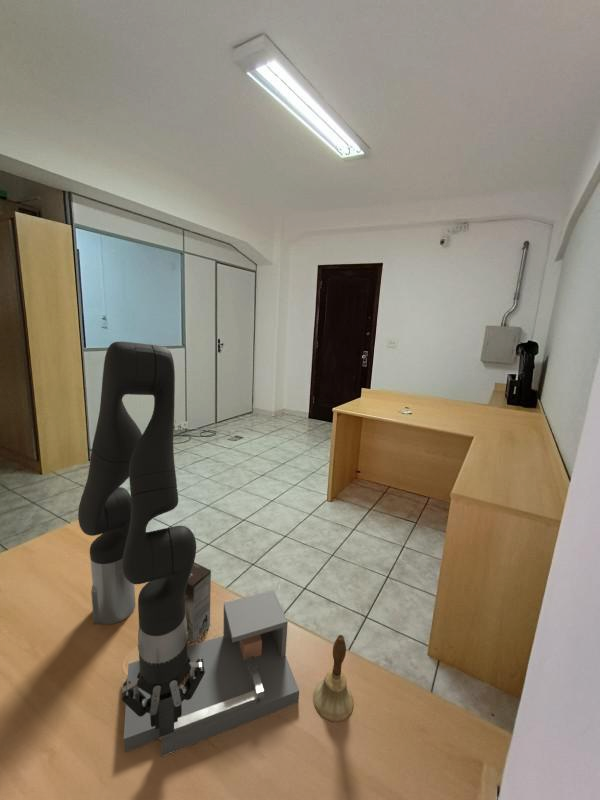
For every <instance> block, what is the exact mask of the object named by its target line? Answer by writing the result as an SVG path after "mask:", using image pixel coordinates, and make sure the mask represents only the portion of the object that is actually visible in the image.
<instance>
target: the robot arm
mask: <svg viewBox="0 0 600 800" xmlns="http://www.w3.org/2000/svg"><path fill="white" fill-rule="evenodd" d="M101 381H102V382H101V383H102V384H101V393H100V394H101V395H100V404H99V412H98V419H97V424H96V428H95V432H94V436H93V441H92V447H91V453H90V459H89V468H88V473H87V479H86V482H85V486H84V489H83V492H82V495H81V498H80V501H79V505H78V509H77V510H78V513H77V515H78V516H77V517H78V523H79V527H80V529H81V531H82V533H84V534H85V535H87V536H89V537H90V536H92V537H93V536H98V537H96V538H95V539H94V540H93V541H92V543H91V544H90V547H89V557H90V567H91V568H90V571H91V581H92V585H91V591H90V595H91V606H92V617H93V624H94V625H95V624H102V625H115V624H118V623H120V622H122V621H124V620H126V619H127V618H128V617H130V616H131V615H132V613H133V612H134V611H135V608H136V589H135V586H136V585H142V584H143V586H142V588H141V590H140V591H139V593H138V598H137V610H138V612H137V613H138V630H137V631H138V633H137V640H138V641H137V643H138V644H137V650H138V661H139V665H140V672H139V673H138V676H137V679H136V680H134V681H133V682H130V681H127V680H126V681H125V682H123V684H122V691H121V692H122V693H121V702H123V703H124V704H125V706H126V705H127V706H128V707H129V708H130V709H132V710H133V711H134V712H135V713H136V714H137V715H138V716H139V717H141V716H144V715H145V713H150V720H151V726H152V727H154V726H155V730H156V729H159V710H158V704H159V697H160V696H161V695H163V694H164V693H169V692H171V694H172V699H173V703H174V723H175V722H178V718H179V717H181V715H182V705H181V704H182V701H183V700H185V699H186V700H189V699H191V698H192V696H193V694H194V692H195V691H196V689H197V687H198V685H199V683H200V681H201V679H202V678H203V676H204V674H205V670H204V663H203V659H202V658H200V659H198V660H197V661H196V662H190V659H189V657H188V646H189V645H188V640H187V638H188V631H187V620H186V614H185V592H186V587H187V583H188V580H189V576H190V574H191V571H192V567H193V564H194V562H195V560H196V557H197V555H196V554H197V540H196V538H195V534H194V533H193V532H192V530H191V529H190V528H189V527H187V526H185V525H175V526H170V527H165V528H160V529H157V530H151V531H147V528H148V525H149V523H150V522H151V520H154V518H157V517H158V516H161V515H163V514H166V513H169V512H171V511H172V510H175V509H176V508H177V507H178V505H179V492H178V485H177V475H176V474H177V473H176V467H175V466H176V465H175V456H174V455H175V454H174V433H175V431H174V430H175V429H174V428H175V427H174V426H175V403H176V402H175V393H176V392H175V391H176V390H175V388H176V387H175V386H176V374H175V363H174V357H173V355H172V353H171V351H170V349H169V348H167V347H166V346H164V345H163V346H162V345H157V344H150V343H148V344H147V343H139V342H130V341H114V342H112V343H111V344H110V345H109V346H108V347H107V351H106V353H105V357H104V362H103V370H102V379H101ZM126 395H133V396H136V395H139V396H141V395H142V396H153V399H154V400H153V401H154V403H153V405H154V406H153V411H152V415H151V417H150V419H149V422H148V424H147V426H146V428H145V430H144V431H143V433H142V431H141V429H140V428H139V426H138V425H137V423H136V421H135V420H134V419H133V418H132V416H131V415H130V414H129V413H128V410H127V409H126V407H125V405H124V402H123V399H124V396H126ZM128 479H129V491H130V492H129V491H128V489H126V488H124V487H123V484H124V483H125V482H126V481H127V480H128ZM121 486H122V487H121ZM189 672H190V673H189ZM186 677H187V678H186ZM185 678H186V679H185ZM184 680H185V681H184ZM183 681H184V683H183ZM182 683H183V685H184V686H183V685H182ZM181 685H182V686H183V687H182V688H180V686H181ZM138 688H140V689H142V690H143V691H145V692H147V693H148V694H150V698H148V699H146V697H145V696H144V695H143V694H142V693H141V692H140V691H139V690H138Z"/></svg>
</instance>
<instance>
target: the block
mask: <svg viewBox="0 0 600 800" xmlns="http://www.w3.org/2000/svg"><path fill="white" fill-rule="evenodd" d="M240 649H241V652H242V656H243V660H247V657H250V656H254V657H256V656H259V655H261V652H262V639H261V636H260V634H259V635H256V636H253V637H249V638H246V639H243V640H240Z"/></svg>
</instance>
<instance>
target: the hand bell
mask: <svg viewBox="0 0 600 800" xmlns="http://www.w3.org/2000/svg"><path fill="white" fill-rule="evenodd" d="M346 653H347V644H346V642H345V637H344V634H343V635H342V634H338V635H337V638H336V640H335V641H334V643H333V647H332V659H333V667H332V669H330V670H328V671H327V672H326V673H325V676H324V679H322V680H321V681H319V682H318V684H317V685H316V686H315V689H314V691H313V705H314V707H315V709H316V711H317V712H318V714H320V716H322V717H323V718H324V719H325V720H328V721H330V722H334V723H336V722H337V723H338V722H342V721H345V720H346V719H348V718H349V716H351V714H352V712H353V709H354V705H355V704H354V703H355V702H354V696H353V693H352V692H351V689H350V688H349V687H348V685H347V684H348V683H347V682H348V681H347V678H346V676H345V674H344V673H343V672H342V664H343V663H344V660H345V658H346Z"/></svg>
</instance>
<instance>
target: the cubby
mask: <svg viewBox="0 0 600 800" xmlns="http://www.w3.org/2000/svg"><path fill="white" fill-rule="evenodd" d="M284 612H285V611H284V610H283V608H282V606H281V604H280V601H279V599H278V596H277V594H276V592H275V590H274V589H273V590H269V591H265V592H260V593H257V594H253V595H250V596H249V595H248V596H245V597H242V598H237V599H234V600H233V599H232V600H230V601H227V602H223V629H222V630H223V631H222V633H223V634H222V636H218V637H215V638H211V639H209V640H205V641H202V642H199V643H195V644H192V645H187V646H188V657H189V659H190V662H196V661H197V660H198V659H200V658H202V659H203V663H204V670H205V674H204V676H203V678H202V679H201V681H200V683H199V685H198V687H197V689H196V691H195V692H194V694H193V696H192V698H191V699H189V700H186V699H185V700H183V701H182V704H181V705H182V715H181V717H183V716H185V715H188V714H191V713H194V712H196V711H199V710H202V709H205V708H207V707H210V706H213V705H216V704H218V703H221V702H224V701H226V700H229V699H232V698H235V697H237V696H240V695H243V694H246V693H248V692H251V691H253V688H252V684H251V680H250V677H249V673H248V669H247V660H243V656H242V652H241V649H240V640H243V639H246V638H249V637H253V636H256V635H259V634H260V636H261V639H262V652H261V655H259V656H256V657H254V659H255V662H256V666H257V669H258V672H259V676H260V679H261V682H262V686H263V689H264V700H263V701H261V702H258V703H256V704H253V705H250V706H248V707H245V708H242V709H240V710H237V711H235V712H232V713H229V714H227V715H224V716H221V717H219V718H216V719H214V720H211V721H208V722H206V723H203V724H200V725H198V726H195V727H193V728H190V729H187V730H185V731H182V732H179V733H177V734H174V735H172V736H169V737H166V738H164V739H161V740H160V734H159V729H156V730H155V726H154V727H152V726H151V720H150V713H145V715H144V716H141V717H139V716H138V715H137V714H136V713H135V712H134V711H133V710H132V709H130V708H129V707H128V706H127V705H126V704H125V713H124V728H123V749H124V750H123V751H124V752H125V751H126V752H128V751H132V750H133V749H136V748H138V747H142V746H143V745H147V744H150V743H151V742H154V741H157V740H160V747H161V749H160V750H161V752H160V753H161V757H164V755H165V756H167V755H169V754H168V753H170V752H172V753H174V752H173V751H175V752H177V751H179V749H180V750H182V749H185V748H187V747H190V746H192V745H195V744H197V743H199V741H200V742H203V741H205V740H207V739H210V738H212V737H216V736H217V735H219V734H222V733H225V732H228V731H230V730H232V729H235V728H237V727H240V726H242V725H245V724H247V723H249V722H252V721H255V720H258V719H260V718H262V717H265V716H267V715H270V714H273V713H275V712H278V711H281V710H283V709H286V708H288V707H290V706H293V705H295V704H297V703H299V702H300V701H299V699H300V689H299V686H298V684H297V682H296V678H295V675H294V674H293V671H292V668H291V666H290V664H289V660H288V659H287V656H286V654H287V636H288V626H289V625H288V619H287V617H286V614H285V613H284ZM139 672H140V665H139V660H136V661H135V662H134V661H133V662H130V663H128V664H127V679H126V681H130V682H133V681H134V680H136V679H137V676H138V673H139ZM188 674H190V672H189V673H188ZM183 686H184V684H183V685H180V688H182V687H183ZM138 690H139V691H140V692H141V693H142V694H143V695H144V696H145V697H146V699H148V698H150V694H148V693H147V692H145V691H143V690H142V689H140V688H138ZM179 718H180V717H179ZM189 745H190V746H189ZM186 746H187V747H186ZM184 747H185V748H184ZM181 748H182V749H181ZM176 750H177V751H176ZM166 754H167V755H166ZM170 754H171V753H170Z"/></svg>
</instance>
